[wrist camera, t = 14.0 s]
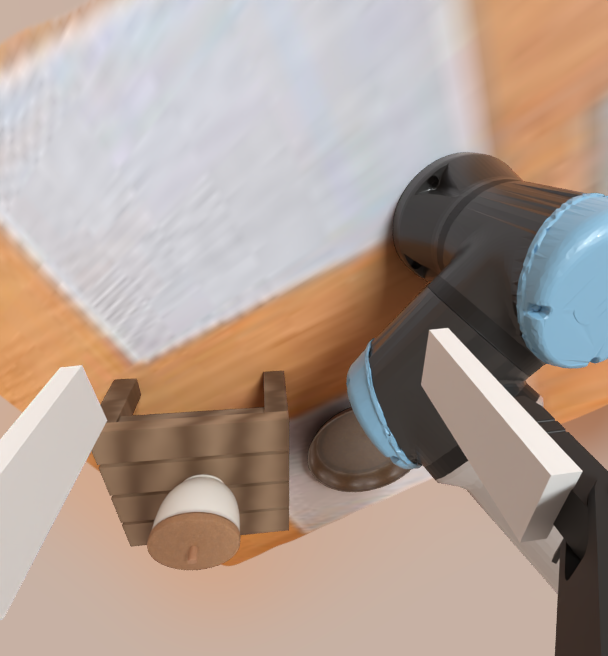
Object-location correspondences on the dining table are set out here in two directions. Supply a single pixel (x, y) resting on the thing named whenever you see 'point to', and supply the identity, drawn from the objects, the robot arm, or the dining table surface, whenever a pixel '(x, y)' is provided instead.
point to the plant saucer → (349, 457)
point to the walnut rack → (196, 457)
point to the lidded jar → (196, 525)
